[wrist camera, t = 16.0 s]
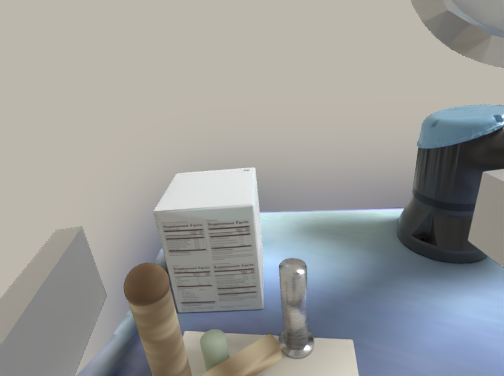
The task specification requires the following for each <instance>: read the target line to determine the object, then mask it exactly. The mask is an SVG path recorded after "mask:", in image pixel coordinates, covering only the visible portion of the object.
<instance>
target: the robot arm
mask: <svg viewBox="0 0 504 376" xmlns="http://www.w3.org/2000/svg"><path fill="white" fill-rule="evenodd" d="M411 2H412V5H413V7H414V9H415V10H416V12H417V14H418V15H419V17H420V19H421V20H422V22H423V23H424V24H425V26H426V27H427V28H428V29H429V30H430V31H431V32H432V33H433V35H434V36H435V37H436V38H437V39H439V40H440V41H441V42H442V43H443V44H445V45H446V46H448V47H449V48H451V49H452V50H454V51H456V52H458V53H459V54H461V55H463V56H466V57H468V58H471V59H473V60H476V61H478V62H481V63H484V64H488V65H493V66H497V67H502V68H504V0H411ZM417 146H418V154H417V161H416V169H415V176H414V183H413V191H412V196H411V197H410V199H409V201H408V203H407V205H406V207H405V208H404V210H403V212H402V214H401V216H400V217H399V220H398V227H397V235H398V237H399V239H400V240H401V241H402V243H403V244H405V245H406V246H407V247H408V248H410V249H411V250H413V251H415V252H417V253H419V254H421V255H423V256H426V257H429V258H432V259H436V260H440V261H445V262H452V263H470V262H476V261H480V260H482V259H485V258H486V257H488V256H489V257H490V258H491V259H493V260H494V261H495V262H497V263H498V264H499V265H501V266H502V267H503V268H504V106H502V105H470V106H462V107H454V108H449V109H445V110H441V111H438V112H435V113H433V114H431V115H429V116H428V117H427V118H426V119H425V120H424V122H423V123H422V128H421V132H420V137H419V140H418V142H417ZM105 299H106V292H105V289H104V286H103V284H102V281H101V278H100V275H99V272H98V270H97V267H96V264H95V261H94V259H93V256H92V253H91V250H90V247H89V244H88V242H87V239H86V236H85V233H84V230H83V228H82V226H81V227H74V228H67V229H59V230H56V231H55V232H54V233H53V235H52V236H51V237H50V238H49V240H48V241H47V242H46V243H45V244H44V246H43V247H42V248H41V249H40V251H39V252H38V253H37V254H36V255H35V257H34V258H33V259H32V260H31V262H30V263H29V264H28V265H27V267H26V268H25V269H24V270H23V271H22V273H21V274H20V275H19V277H18V278H17V279H16V280H15V281H14V282H13V284H12V285H11V286H10V287H9V289H8V290H7V291H6V292H5V294H4V295H3V296H2V297H1V298H0V376H75V373H76V371H77V368H78V366H79V364H80V361H81V359H82V356H83V354H84V351H85V348H86V346H87V343H88V341H89V339H90V336H91V334H92V331H93V329H94V326H95V323H96V321H97V319H98V316H99V314H100V311H101V309H102V306H103V304H104V301H105Z"/></svg>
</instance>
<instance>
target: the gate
mask: <svg viewBox="0 0 504 376" xmlns="http://www.w3.org/2000/svg"><path fill="white" fill-rule="evenodd" d="M124 293H125V296H126V298H127V300H128V301H129V304H130V307H131V311H132V314H133V317H134V320H135V323H136V326H137V329H138V332H139V335H140V338H141V341H142V344H143V348H144V351H145V354H146V357H147V360H148V363H149V366H150V369H151V372H152V375H153V376H192V373H191V369H190V365H189V361H188V357H187V353H186V349H185V345H184V341H183V337H182V333H181V329H180V325H179V321H178V317H177V313H176V309H175V305H174V301H173V297H172V293H171V289H170V280H169V276H168V274H167V272H166V271H165V270H164V269H163V268H162V267H161V266H159V265H157V264H154V263H144V264H140V265H138V266H136V267H135V268H133V269H132V270H131V271H130V272H129V274H128V275H127V277H126V279H125V282H124ZM280 359H282V356H281V344H280V343H279V342H278V341H277V340H276V338H275V337H274V336H273V335H272V334H271V333H269V334H268V335H266V336H264V337H263V338H261V339H260V340H258V341H256V342H255V343H253V344H251V345H250V346H248V347H246V348H245V349H243V350H241V351H240V352H238V353H237V354H235V355H233V356H232V357H230V358H228V359H227V360H225V361H223V362H222V363H220V364H218V365H217V366H215V367H214V368H212V369H210V370H209V371H207V372H205V373H204V374H202V375H200V376H256V375H258V374H259V373H261V372H262V371H264V370H265V369H267V368H268V367H270V366H271V365H273V364H274V363H276V362H277V361H279V360H280Z"/></svg>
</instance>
